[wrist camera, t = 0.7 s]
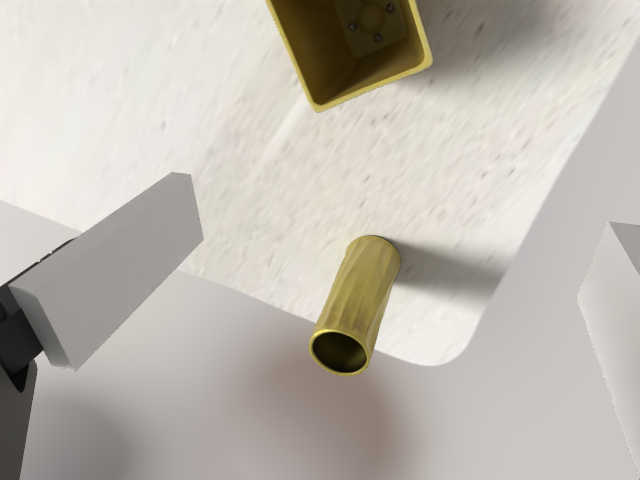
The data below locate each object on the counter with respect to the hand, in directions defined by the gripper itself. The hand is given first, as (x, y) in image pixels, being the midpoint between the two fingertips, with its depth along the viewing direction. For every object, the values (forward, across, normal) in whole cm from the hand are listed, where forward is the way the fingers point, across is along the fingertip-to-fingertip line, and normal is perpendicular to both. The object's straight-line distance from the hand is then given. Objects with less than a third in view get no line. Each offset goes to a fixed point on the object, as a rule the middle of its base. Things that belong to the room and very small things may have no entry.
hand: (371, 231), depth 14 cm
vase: (+26, -3, -19) cm, 32 cm away
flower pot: (+26, -5, +4) cm, 27 cm away
